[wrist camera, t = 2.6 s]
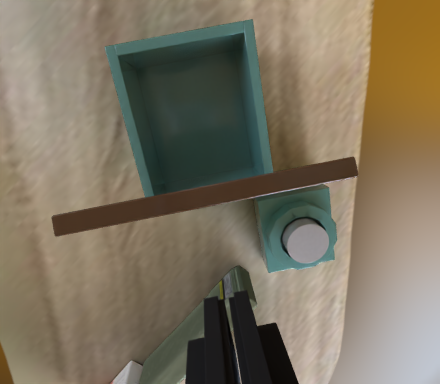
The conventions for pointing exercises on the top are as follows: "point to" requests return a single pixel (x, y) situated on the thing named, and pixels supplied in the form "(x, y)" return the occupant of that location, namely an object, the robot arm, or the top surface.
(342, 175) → the brown rectangular panel
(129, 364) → the ink cartridge box
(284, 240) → the flush button
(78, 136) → the top surface
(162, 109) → the teal bin
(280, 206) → the flush button base
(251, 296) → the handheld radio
